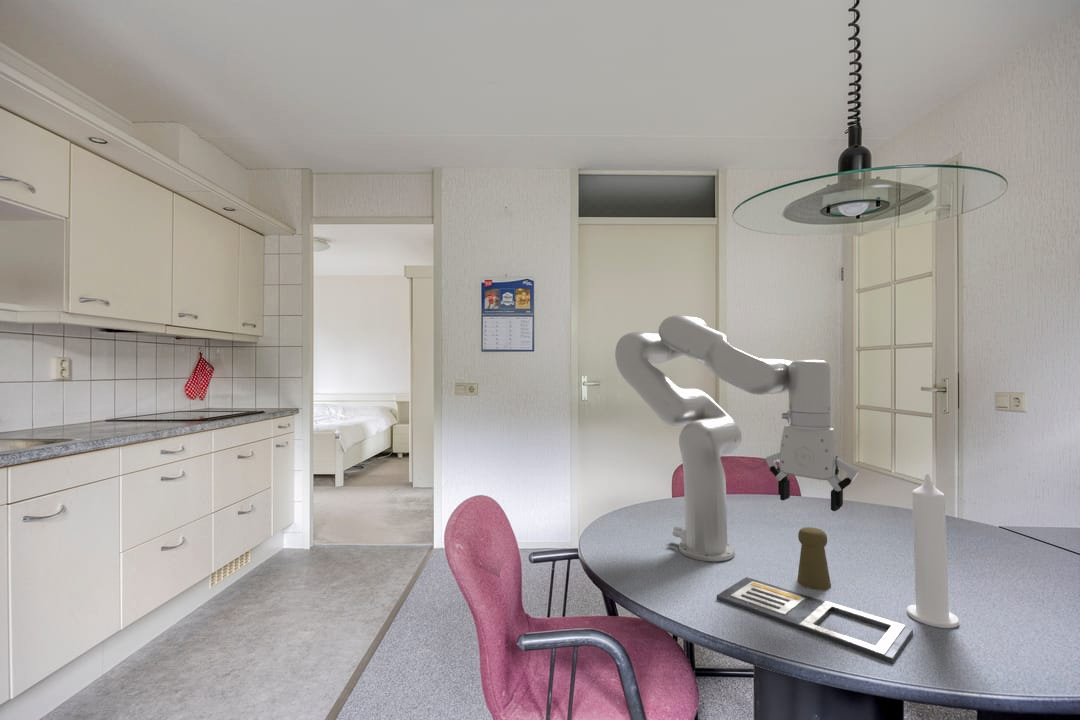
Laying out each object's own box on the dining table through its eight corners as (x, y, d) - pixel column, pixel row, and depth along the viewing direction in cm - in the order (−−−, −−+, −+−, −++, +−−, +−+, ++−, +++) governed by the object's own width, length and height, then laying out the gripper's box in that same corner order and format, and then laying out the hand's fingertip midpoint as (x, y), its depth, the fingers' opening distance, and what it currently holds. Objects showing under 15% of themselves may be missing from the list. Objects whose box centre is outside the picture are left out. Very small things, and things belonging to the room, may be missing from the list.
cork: (800, 574, 104) (799, 522, 105) (833, 582, 101) (831, 527, 101) (794, 584, 100) (792, 530, 100) (828, 592, 96) (826, 535, 96)
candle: (959, 616, 86) (954, 472, 86) (958, 633, 81) (953, 479, 81) (909, 604, 91) (904, 467, 91) (904, 619, 85) (900, 474, 86)
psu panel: (716, 599, 94) (716, 593, 94) (746, 580, 102) (746, 575, 102) (892, 663, 73) (892, 656, 73) (912, 633, 81) (912, 626, 81)
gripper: (758, 418, 105) (758, 498, 105) (851, 426, 92) (851, 518, 92) (774, 415, 110) (774, 492, 110) (863, 422, 97) (864, 510, 97)
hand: (809, 504), depth 101 cm, fingers open, 9 cm apart
